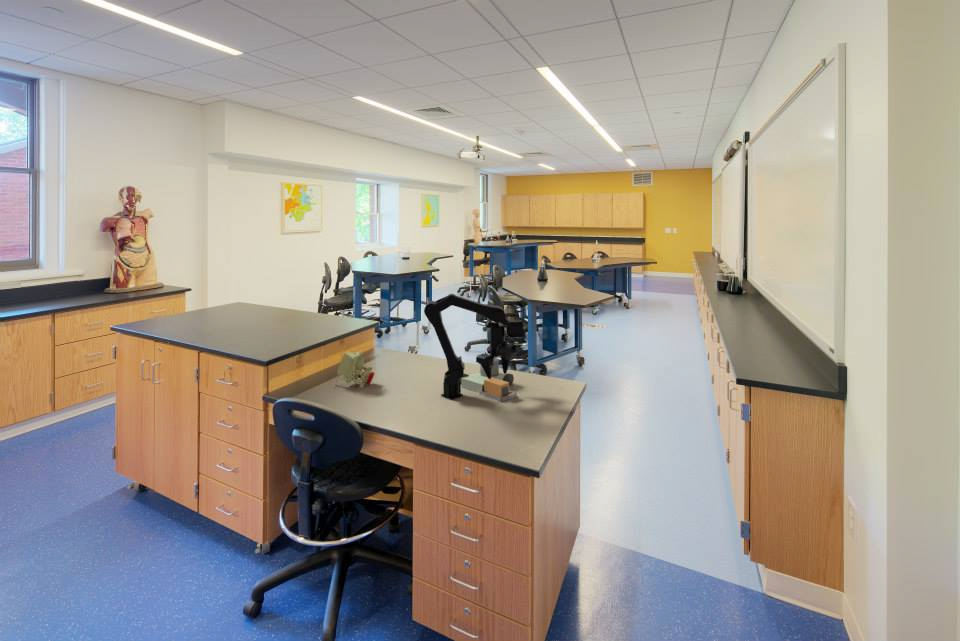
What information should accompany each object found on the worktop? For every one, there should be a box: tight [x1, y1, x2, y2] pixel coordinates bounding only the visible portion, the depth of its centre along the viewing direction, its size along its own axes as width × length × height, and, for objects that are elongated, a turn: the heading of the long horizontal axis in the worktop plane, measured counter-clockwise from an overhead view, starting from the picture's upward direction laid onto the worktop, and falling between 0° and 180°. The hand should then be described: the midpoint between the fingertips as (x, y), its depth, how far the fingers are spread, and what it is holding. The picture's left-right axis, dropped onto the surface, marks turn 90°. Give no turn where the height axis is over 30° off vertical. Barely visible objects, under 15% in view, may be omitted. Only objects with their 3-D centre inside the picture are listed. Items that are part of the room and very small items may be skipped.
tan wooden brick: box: [484, 377, 510, 397], centre depth 196 cm, size 5×9×6 cm, turn 45°
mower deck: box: [459, 358, 515, 393], centre depth 208 cm, size 18×15×10 cm
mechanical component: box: [334, 350, 375, 389], centre depth 209 cm, size 8×17×20 cm, turn 89°
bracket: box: [478, 389, 518, 403], centre depth 197 cm, size 9×12×2 cm
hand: (497, 376), depth 195 cm, fingers open, 9 cm apart
